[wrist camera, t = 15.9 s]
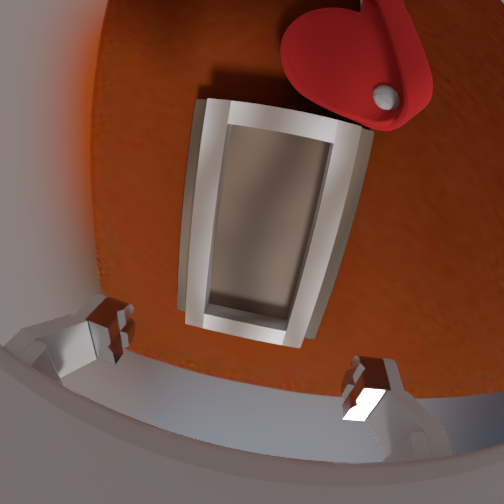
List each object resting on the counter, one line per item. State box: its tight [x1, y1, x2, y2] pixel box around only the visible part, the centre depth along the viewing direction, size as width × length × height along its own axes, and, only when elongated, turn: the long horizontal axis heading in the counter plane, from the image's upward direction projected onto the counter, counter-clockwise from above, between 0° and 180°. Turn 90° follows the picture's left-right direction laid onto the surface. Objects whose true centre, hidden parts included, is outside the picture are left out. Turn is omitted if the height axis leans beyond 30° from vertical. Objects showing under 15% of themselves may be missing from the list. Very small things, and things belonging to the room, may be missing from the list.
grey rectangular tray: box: [177, 98, 374, 348], centre depth 20 cm, size 12×17×3 cm
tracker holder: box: [280, 0, 433, 131], centre depth 13 cm, size 12×4×10 cm
